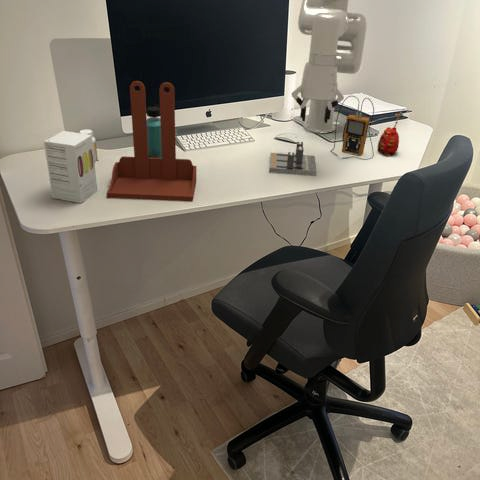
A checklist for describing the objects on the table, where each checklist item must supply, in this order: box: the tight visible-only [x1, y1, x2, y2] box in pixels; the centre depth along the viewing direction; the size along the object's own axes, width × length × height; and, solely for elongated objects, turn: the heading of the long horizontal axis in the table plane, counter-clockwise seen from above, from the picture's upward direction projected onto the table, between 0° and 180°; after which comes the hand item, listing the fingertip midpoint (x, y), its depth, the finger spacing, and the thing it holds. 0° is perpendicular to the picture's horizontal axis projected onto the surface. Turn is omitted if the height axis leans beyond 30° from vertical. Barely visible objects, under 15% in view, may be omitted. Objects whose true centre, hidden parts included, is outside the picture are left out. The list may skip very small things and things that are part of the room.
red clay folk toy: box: [377, 110, 402, 157], centre depth 181 cm, size 8×7×15 cm
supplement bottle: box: [78, 129, 98, 163], centre depth 165 cm, size 5×5×10 cm
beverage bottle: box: [146, 106, 162, 158], centre depth 158 cm, size 6×7×20 cm
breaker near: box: [287, 151, 295, 168], centre depth 164 cm, size 2×2×5 cm
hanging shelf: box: [106, 80, 197, 202], centre depth 144 cm, size 24×13×30 cm, turn 90°
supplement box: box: [43, 130, 98, 204], centre depth 142 cm, size 10×9×17 cm
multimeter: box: [330, 95, 375, 161], centre depth 175 cm, size 15×10×20 cm
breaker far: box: [295, 140, 304, 154], centre depth 173 cm, size 2×2×5 cm
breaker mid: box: [295, 146, 304, 163], centre depth 168 cm, size 2×2×5 cm
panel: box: [268, 152, 318, 177], centre depth 170 cm, size 13×15×2 cm
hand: (314, 120), depth 157 cm, fingers open, 6 cm apart
